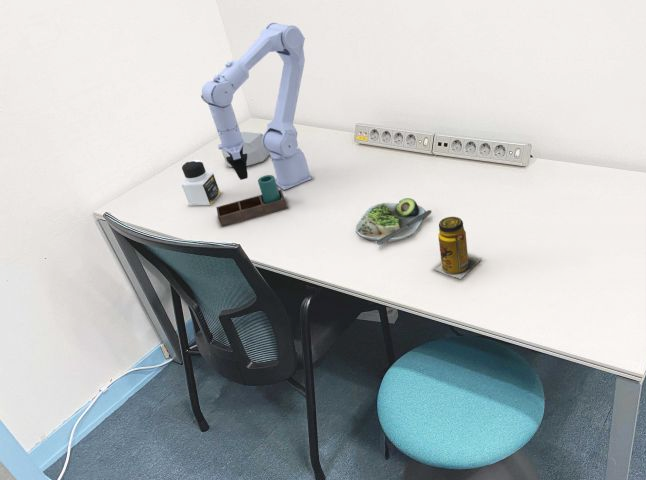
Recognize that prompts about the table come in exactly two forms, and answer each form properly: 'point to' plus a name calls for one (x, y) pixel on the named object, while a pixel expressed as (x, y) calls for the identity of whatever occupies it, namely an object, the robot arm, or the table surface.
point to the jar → (269, 188)
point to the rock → (251, 148)
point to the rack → (248, 209)
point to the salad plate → (391, 221)
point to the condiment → (454, 248)
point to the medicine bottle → (199, 184)
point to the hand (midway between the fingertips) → (242, 173)
